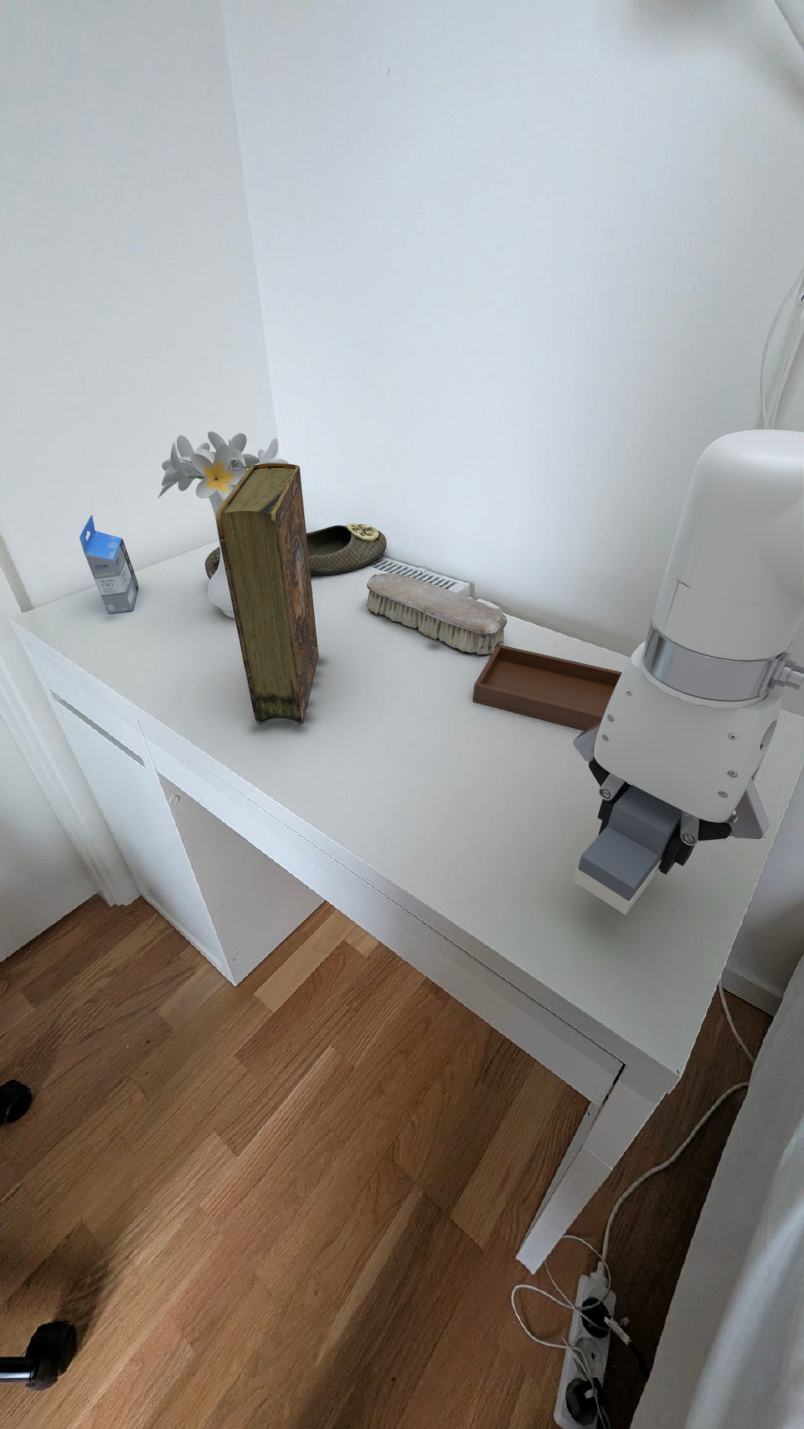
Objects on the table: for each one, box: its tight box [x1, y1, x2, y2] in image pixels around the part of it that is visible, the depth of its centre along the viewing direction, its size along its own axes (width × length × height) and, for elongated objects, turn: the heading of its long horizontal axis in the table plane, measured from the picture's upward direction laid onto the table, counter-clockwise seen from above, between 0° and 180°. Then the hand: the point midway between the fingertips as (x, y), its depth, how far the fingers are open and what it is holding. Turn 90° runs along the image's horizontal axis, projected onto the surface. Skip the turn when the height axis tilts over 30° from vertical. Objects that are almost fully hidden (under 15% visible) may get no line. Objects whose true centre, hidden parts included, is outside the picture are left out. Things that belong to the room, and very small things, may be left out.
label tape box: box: [79, 514, 139, 614], centre depth 88 cm, size 9×4×12 cm, turn 13°
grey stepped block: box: [572, 784, 682, 916], centre depth 45 cm, size 11×4×6 cm, turn 136°
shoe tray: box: [472, 644, 623, 732], centre depth 72 cm, size 17×10×3 cm, turn 66°
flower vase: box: [157, 430, 290, 619], centre depth 83 cm, size 13×18×25 cm
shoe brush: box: [366, 572, 508, 655], centre depth 85 cm, size 24×8×5 cm, turn 51°
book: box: [215, 463, 320, 723], centre depth 66 cm, size 16×6×25 cm, turn 179°
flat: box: [204, 522, 388, 580], centre depth 99 cm, size 11×33×8 cm, turn 117°
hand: (639, 842), depth 47 cm, fingers closed on grey stepped block, 4 cm apart
